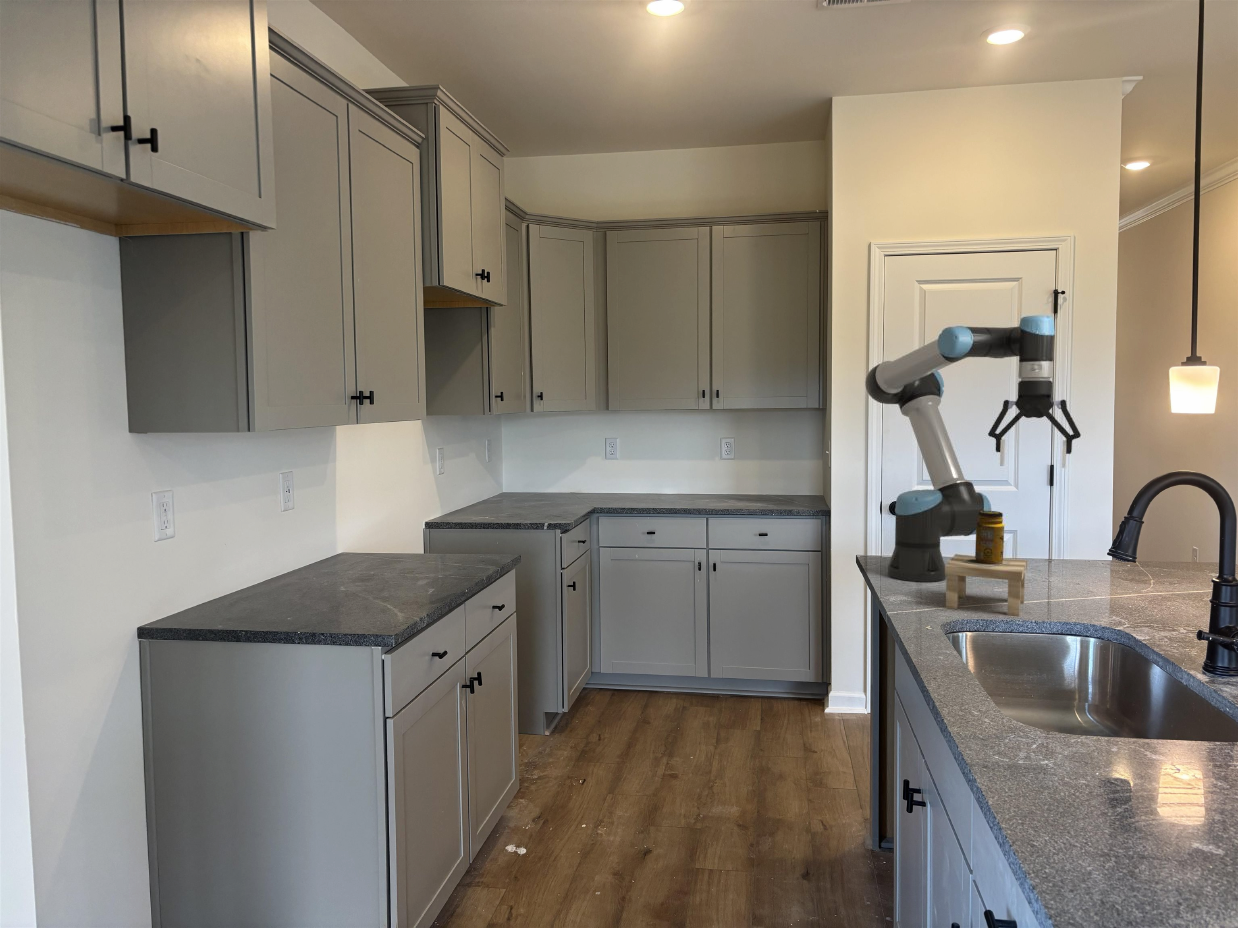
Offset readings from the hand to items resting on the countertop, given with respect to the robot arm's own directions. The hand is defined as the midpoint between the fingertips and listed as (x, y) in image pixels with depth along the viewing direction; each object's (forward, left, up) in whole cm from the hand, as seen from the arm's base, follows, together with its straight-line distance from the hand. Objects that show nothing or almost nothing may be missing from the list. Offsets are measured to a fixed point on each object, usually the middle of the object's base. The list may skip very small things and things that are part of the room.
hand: (1032, 466), depth 204 cm
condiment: (+17, -8, -22) cm, 29 cm away
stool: (+17, -8, -32) cm, 37 cm away
